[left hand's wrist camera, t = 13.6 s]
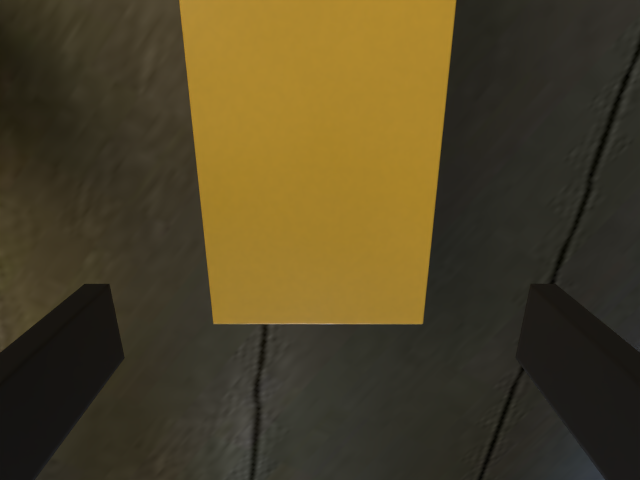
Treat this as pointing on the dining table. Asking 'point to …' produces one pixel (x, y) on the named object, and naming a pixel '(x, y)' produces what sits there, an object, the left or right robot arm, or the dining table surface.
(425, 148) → the cabinet
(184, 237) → the dining table surface
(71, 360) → the left robot arm
